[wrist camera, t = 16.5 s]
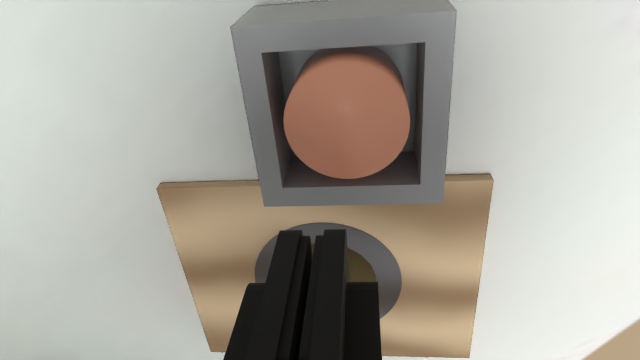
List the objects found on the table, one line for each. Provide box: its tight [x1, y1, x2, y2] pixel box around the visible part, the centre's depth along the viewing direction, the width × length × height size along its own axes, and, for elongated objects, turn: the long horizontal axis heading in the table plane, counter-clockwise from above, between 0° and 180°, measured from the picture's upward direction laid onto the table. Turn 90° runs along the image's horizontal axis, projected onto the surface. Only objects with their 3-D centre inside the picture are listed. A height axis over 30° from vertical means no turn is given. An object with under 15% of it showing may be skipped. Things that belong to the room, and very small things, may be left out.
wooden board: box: [156, 174, 493, 358], centre depth 27 cm, size 14×18×1 cm
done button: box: [284, 46, 410, 179], centre depth 19 cm, size 5×5×3 cm
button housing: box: [230, 0, 456, 207], centre depth 19 cm, size 8×8×4 cm
